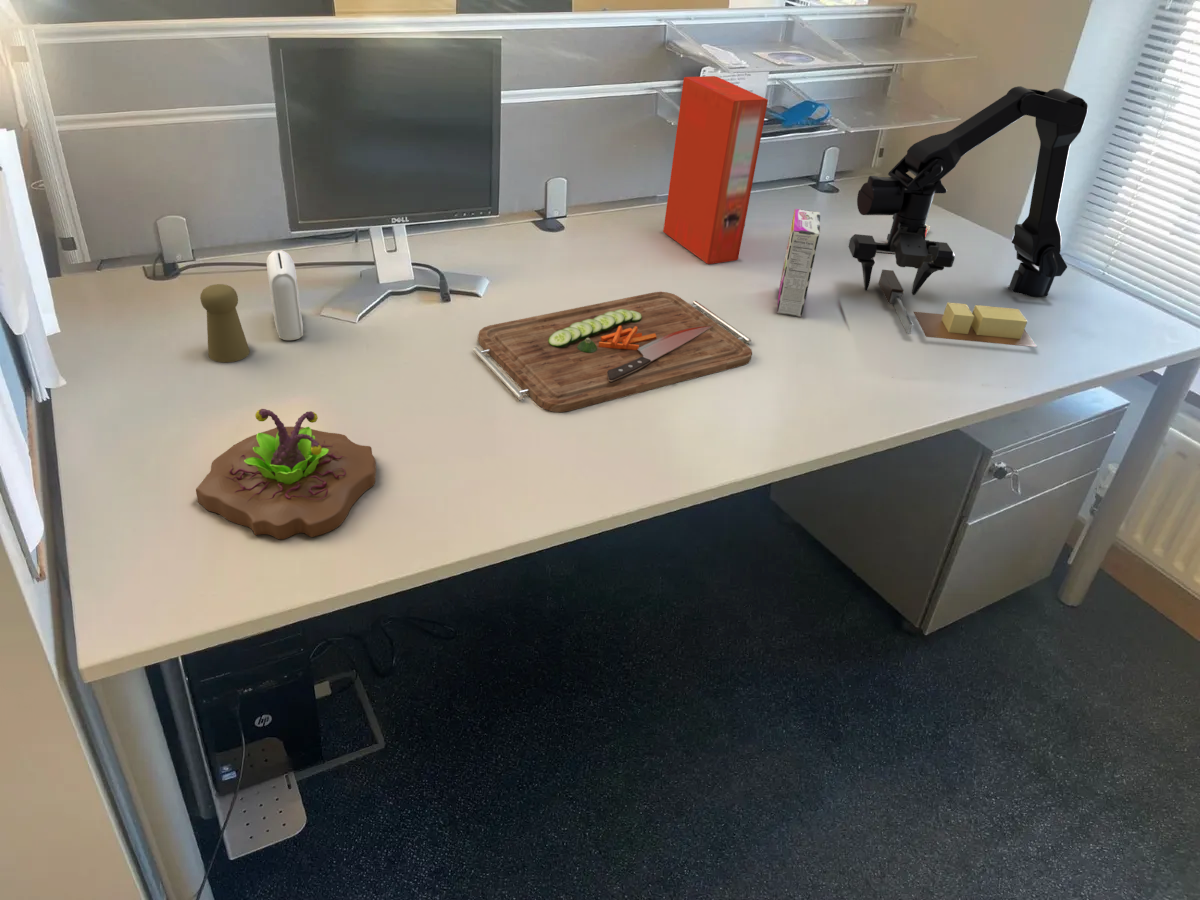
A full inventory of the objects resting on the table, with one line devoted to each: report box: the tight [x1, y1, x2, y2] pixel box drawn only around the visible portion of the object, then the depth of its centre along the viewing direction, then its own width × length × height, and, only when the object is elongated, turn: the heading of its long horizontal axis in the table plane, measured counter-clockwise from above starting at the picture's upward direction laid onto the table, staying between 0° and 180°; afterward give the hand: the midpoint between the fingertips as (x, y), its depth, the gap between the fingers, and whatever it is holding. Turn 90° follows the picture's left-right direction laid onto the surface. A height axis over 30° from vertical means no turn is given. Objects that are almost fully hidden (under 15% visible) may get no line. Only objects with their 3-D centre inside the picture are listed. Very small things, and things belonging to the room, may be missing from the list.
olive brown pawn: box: [199, 283, 251, 363], centre depth 137 cm, size 6×6×11 cm
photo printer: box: [266, 249, 304, 341], centre depth 145 cm, size 10×4×12 cm, turn 20°
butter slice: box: [942, 301, 974, 334], centre depth 164 cm, size 4×5×4 cm
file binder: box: [662, 75, 769, 265], centre depth 181 cm, size 8×17×32 cm, turn 28°
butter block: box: [971, 304, 1028, 339], centre depth 164 cm, size 8×5×4 cm, turn 87°
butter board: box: [913, 311, 1038, 348], centre depth 165 cm, size 20×10×1 cm, turn 87°
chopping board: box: [472, 291, 753, 413], centre depth 150 cm, size 45×27×3 cm, turn 122°
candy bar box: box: [776, 208, 821, 318], centre depth 166 cm, size 11×5×16 cm, turn 168°
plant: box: [195, 408, 377, 540], centre depth 111 cm, size 20×20×11 cm
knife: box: [878, 269, 914, 335], centre depth 169 cm, size 2×22×4 cm, turn 177°
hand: (889, 291), depth 175 cm, fingers open, 9 cm apart
